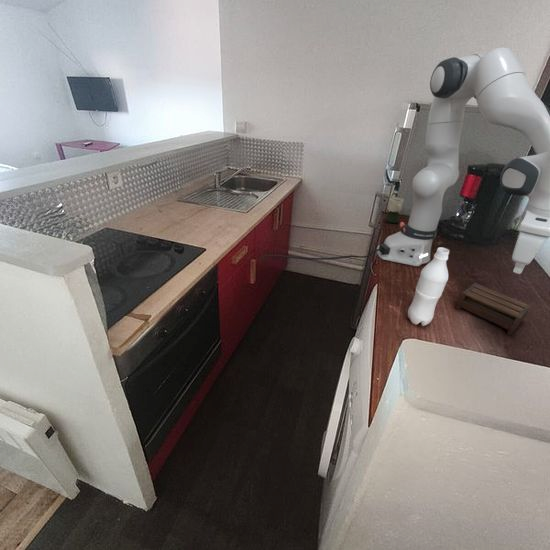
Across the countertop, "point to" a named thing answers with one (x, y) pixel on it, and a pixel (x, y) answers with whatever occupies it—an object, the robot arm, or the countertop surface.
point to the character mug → (394, 209)
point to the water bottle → (429, 288)
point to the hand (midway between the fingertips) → (522, 265)
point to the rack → (493, 306)
